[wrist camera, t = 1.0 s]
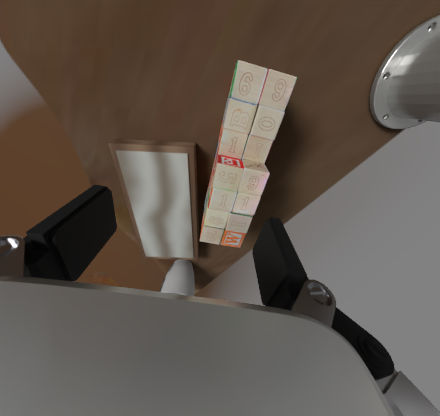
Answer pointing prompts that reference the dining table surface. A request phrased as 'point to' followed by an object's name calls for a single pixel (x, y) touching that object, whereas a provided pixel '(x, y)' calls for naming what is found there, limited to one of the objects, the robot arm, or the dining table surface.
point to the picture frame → (160, 195)
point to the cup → (179, 279)
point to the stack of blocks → (244, 151)
